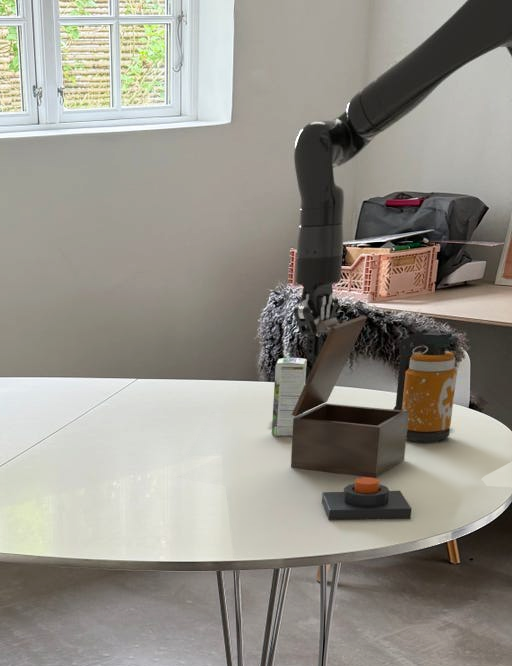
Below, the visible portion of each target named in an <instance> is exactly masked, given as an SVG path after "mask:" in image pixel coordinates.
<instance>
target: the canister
mask: <svg viewBox="0 0 512 666" xmlns="http://www.w3.org/2000/svg"><path fill="white" fill-rule="evenodd" d="M458 339H459V337H458V336H456V335H453V332H449V331H448V332H447V331H446V332H433V331H432V332H430V331H428V330H426V329H422V330H418V331H416V332H415V333H413V334H411V335H409V336H408V337H406V338H404V339H403V340H401V341H399V342H398V343H397V345H398V346H397V347H398V351H399V355H400V357H399V362H398V378H397V385H396V387H397V388H396V397H395V406H394V407H393V409H392V410H403V411H409V418H408V427H407V437H406V440H407V441H410V442H415V443H434V442H440V441H441V440H443V439H444V440H445V439H447V438H449V436H450V433H451V425H452V415H453V407H454V401H455V400H454V399H455V390H456V384H457V374H458V371H457V370H456V369H455V364H456V357H455V354H454V353H453V352H451V351H448V350H446V349H445V348H448V347H450V346H451V344H453V343H456V342H458ZM413 343H414V345H411V344H413Z"/></svg>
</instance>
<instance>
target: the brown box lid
mask: <svg viewBox="0 0 512 666" xmlns="http://www.w3.org/2000/svg"><path fill="white" fill-rule="evenodd" d="M367 320H368V316H365V315H361V316H357V317H356V318H352V319H349V320H346V321H344V322H342V323H339V320H338V318H337V317H333V318H330V319H327V320H324V321H322V322H319V323H318V324H317V325H316V330H317V331H318V332H320V333H322V332H325V333H327V336H326V337H325V338H326V339H325V340H324V343H323V344H322V349H321V351H320V354H319V356H318V358H317V359H315V362H314V365H313V367H312V369H311V371H310V374H309V375H308V378H307V380H306V381H305V386H304V389H303V391H302V393H301V395H300V397H299V399H298V402H297V404H296V406H295V408H294V410H293V413H292V415H293V416H295V417H296V416H298V415H300V414H302V413H303V414H304V413H306V412H308V411H310V410H312V409H314V408H316V407H319V406H321V405H323V404H325V403H327V402H328V400H329V399H330V396H331V395H332V393H333V390H334V388H335V386H336V384H337V382H338V380H339V378H340V376H341V373H342V371H343V370H344V367H345V365H346V363H347V361H348V359H349V357H350V355H351V353H352V350H353V349H354V346H355V344H356V343H357V340H358V338H359V337H360V334H361V331H362V330H363V328H364V326H365V324H366V322H367Z"/></svg>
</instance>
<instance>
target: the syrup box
mask: <svg viewBox="0 0 512 666" xmlns="http://www.w3.org/2000/svg"><path fill="white" fill-rule="evenodd" d="M307 361H308V359H306V358H302V357H284V358H278V359H277V361H276V364H275V369H274V370H275V371H274V384H273V385H274V387H273V402H272V403H273V405H272V421H271V423H272V424H271V436H272V437H276V436H277V437H281V436H282V437H292V435H293V418H295V416H293V415H292V413H293V410H294V408H295V406H296V404H297V402H298V399H299V397H300V395H301V393H302V391H303V389H304V386H305V384H306V379H307V377H306V376H307ZM302 414H304V413H302ZM302 414H300V415H302ZM300 415H298V416H300ZM296 417H297V416H296Z"/></svg>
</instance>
